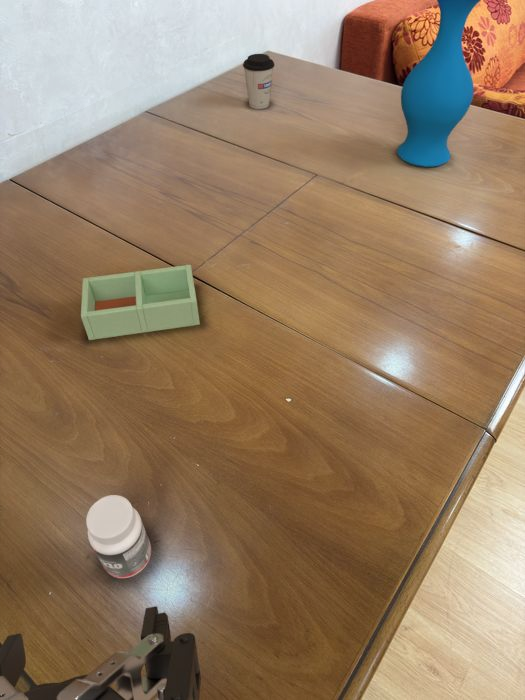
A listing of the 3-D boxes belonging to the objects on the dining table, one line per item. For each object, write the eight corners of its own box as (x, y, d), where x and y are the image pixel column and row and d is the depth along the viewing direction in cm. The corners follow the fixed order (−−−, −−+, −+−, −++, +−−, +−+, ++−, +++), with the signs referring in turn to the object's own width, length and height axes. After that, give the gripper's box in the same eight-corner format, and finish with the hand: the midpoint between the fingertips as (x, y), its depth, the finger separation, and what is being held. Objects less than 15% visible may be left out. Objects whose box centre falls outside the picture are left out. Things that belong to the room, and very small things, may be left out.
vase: (445, 178, 100) (490, 4, 79) (381, 162, 104) (408, -6, 84) (463, 150, 107) (508, -15, 86) (402, 137, 111) (432, -24, 91)
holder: (89, 340, 72) (80, 316, 69) (90, 301, 77) (82, 278, 74) (199, 324, 74) (196, 300, 71) (193, 288, 79) (190, 264, 76)
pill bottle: (92, 560, 52) (68, 522, 46) (127, 522, 54) (109, 481, 48) (127, 589, 50) (107, 553, 44) (162, 548, 52) (147, 509, 46)
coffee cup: (237, 104, 123) (235, 57, 116) (260, 95, 126) (259, 49, 119) (258, 113, 120) (257, 66, 112) (280, 104, 123) (281, 57, 115)
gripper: (184, 743, 19) (189, 556, 35) (-259, 847, 17) (-40, 599, 33) (215, 942, 19) (205, 666, 35) (-216, 1063, 18) (-20, 715, 34)
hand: (86, 634), depth 34 cm, fingers open, 8 cm apart
